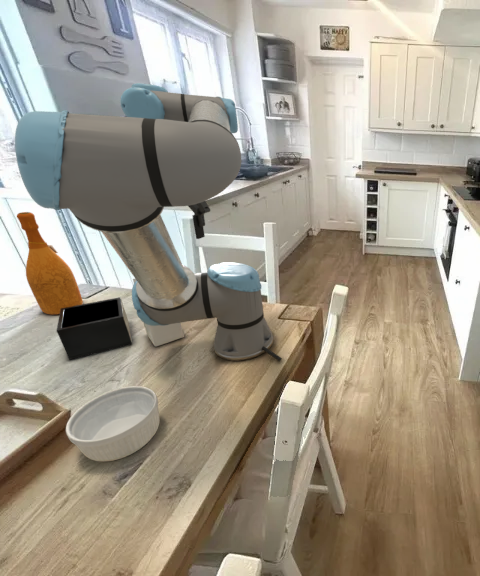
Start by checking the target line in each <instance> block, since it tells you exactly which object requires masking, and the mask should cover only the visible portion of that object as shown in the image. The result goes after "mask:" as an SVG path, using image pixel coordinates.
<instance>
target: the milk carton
mask: <svg viewBox="0 0 480 576" xmlns="http://www.w3.org/2000/svg"><path fill="white" fill-rule="evenodd" d="M132 281H133V284H134V283H135V282H136V281H137V280H136V279H135V278H133V279H132ZM181 323H182V322H181ZM181 323H174V324H169V325H165V326H161V325H157V326H151V325H147V324H145V323H144V322H143V325H144V328H145V332H146V335H147V337H148V338H149V340H150V342H151V343H152V344H153V346H154V347H159V346H162V345H165V344H167V343H171V342H174V341H176V340H180V339H182V338H184V336H185V335H184V330H183V326H182V324H181Z"/></svg>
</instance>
